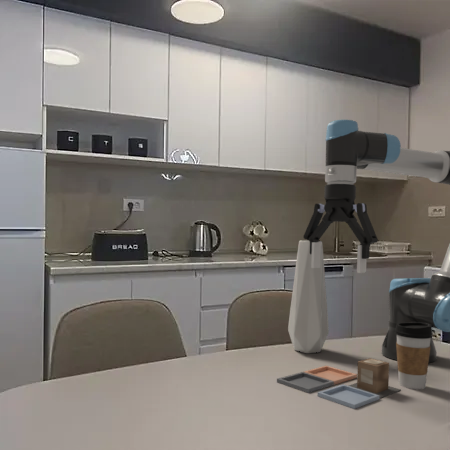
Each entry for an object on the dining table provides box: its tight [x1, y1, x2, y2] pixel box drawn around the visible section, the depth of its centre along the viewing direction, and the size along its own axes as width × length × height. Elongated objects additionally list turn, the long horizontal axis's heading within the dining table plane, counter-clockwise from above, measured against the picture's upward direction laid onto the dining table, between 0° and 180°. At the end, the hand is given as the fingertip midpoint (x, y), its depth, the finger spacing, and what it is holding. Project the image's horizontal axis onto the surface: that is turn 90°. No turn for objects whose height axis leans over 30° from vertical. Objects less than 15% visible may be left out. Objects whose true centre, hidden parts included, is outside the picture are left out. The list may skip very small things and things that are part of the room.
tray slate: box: [316, 383, 380, 410], centre depth 110 cm, size 9×9×1 cm
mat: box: [348, 382, 401, 400], centre depth 117 cm, size 9×9×1 cm
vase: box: [287, 239, 330, 354], centre depth 152 cm, size 12×12×33 cm
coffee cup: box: [395, 322, 434, 390], centre depth 121 cm, size 8×8×15 cm
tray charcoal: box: [276, 371, 335, 394], centre depth 119 cm, size 9×9×1 cm
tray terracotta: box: [303, 365, 358, 386], centre depth 126 cm, size 9×9×1 cm
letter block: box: [356, 357, 390, 393], centre depth 116 cm, size 5×5×6 cm
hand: (337, 270), depth 125 cm, fingers open, 13 cm apart
